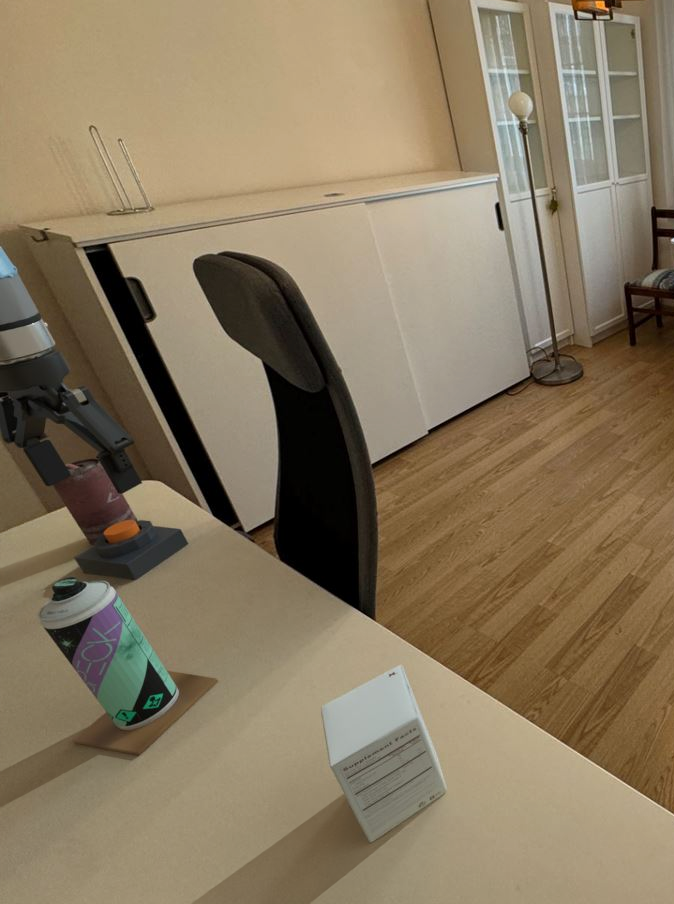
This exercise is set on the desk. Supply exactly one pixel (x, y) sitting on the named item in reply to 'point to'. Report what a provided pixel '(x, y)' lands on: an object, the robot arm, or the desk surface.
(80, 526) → the can
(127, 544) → the button housing
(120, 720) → the spray can
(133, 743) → the wooden board
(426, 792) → the white packaging box
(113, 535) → the orange button cap
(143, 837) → the desk surface
